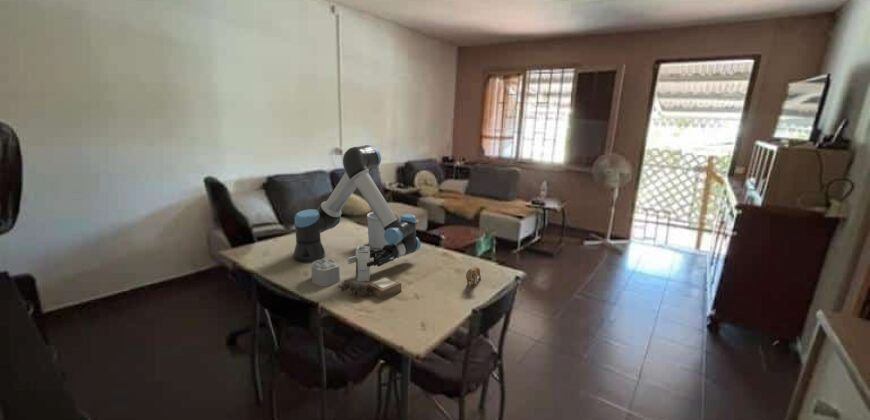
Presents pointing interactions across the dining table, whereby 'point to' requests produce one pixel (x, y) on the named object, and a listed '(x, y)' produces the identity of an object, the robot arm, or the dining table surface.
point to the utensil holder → (375, 232)
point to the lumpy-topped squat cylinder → (325, 272)
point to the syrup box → (361, 256)
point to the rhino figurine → (356, 287)
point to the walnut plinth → (384, 287)
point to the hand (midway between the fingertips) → (354, 263)
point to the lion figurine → (472, 275)
